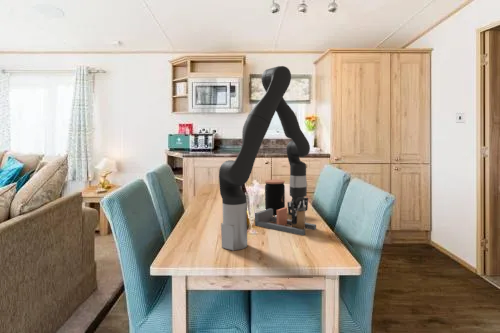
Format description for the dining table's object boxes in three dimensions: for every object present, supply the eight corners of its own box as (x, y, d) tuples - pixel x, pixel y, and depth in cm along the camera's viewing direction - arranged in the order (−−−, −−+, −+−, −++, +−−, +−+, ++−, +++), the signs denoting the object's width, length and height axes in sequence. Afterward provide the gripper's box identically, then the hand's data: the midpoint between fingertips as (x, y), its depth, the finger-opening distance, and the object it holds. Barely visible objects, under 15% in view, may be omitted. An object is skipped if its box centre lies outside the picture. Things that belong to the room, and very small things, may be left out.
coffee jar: (285, 215, 170) (285, 182, 168) (265, 215, 170) (265, 182, 168) (283, 210, 180) (283, 179, 179) (265, 211, 180) (264, 179, 179)
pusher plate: (287, 224, 152) (287, 207, 151) (278, 227, 146) (278, 210, 146) (279, 222, 154) (279, 206, 154) (271, 226, 149) (271, 209, 148)
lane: (316, 228, 145) (316, 215, 144) (302, 235, 136) (302, 221, 135) (269, 220, 161) (269, 208, 161) (255, 225, 152) (254, 213, 152)
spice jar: (300, 232, 139) (300, 209, 138) (288, 229, 143) (288, 207, 142) (307, 228, 144) (307, 207, 143) (296, 226, 148) (296, 205, 147)
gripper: (299, 182, 150) (299, 217, 151) (281, 186, 139) (282, 224, 140) (313, 184, 145) (313, 220, 146) (296, 188, 134) (296, 227, 135)
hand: (298, 222), depth 143 cm, fingers closed on spice jar, 6 cm apart
